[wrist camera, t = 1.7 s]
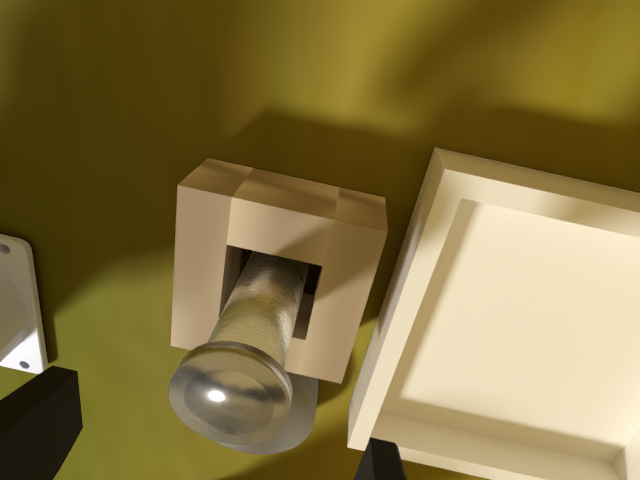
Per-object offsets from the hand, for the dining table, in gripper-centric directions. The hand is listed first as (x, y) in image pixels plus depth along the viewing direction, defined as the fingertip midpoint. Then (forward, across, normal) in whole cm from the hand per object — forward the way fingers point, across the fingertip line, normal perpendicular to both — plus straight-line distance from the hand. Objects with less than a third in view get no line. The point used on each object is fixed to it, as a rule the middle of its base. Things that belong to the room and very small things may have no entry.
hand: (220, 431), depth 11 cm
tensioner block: (+9, 0, +4) cm, 9 cm away
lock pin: (+9, 0, 0) cm, 9 cm away
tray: (+9, -11, +1) cm, 14 cm away
